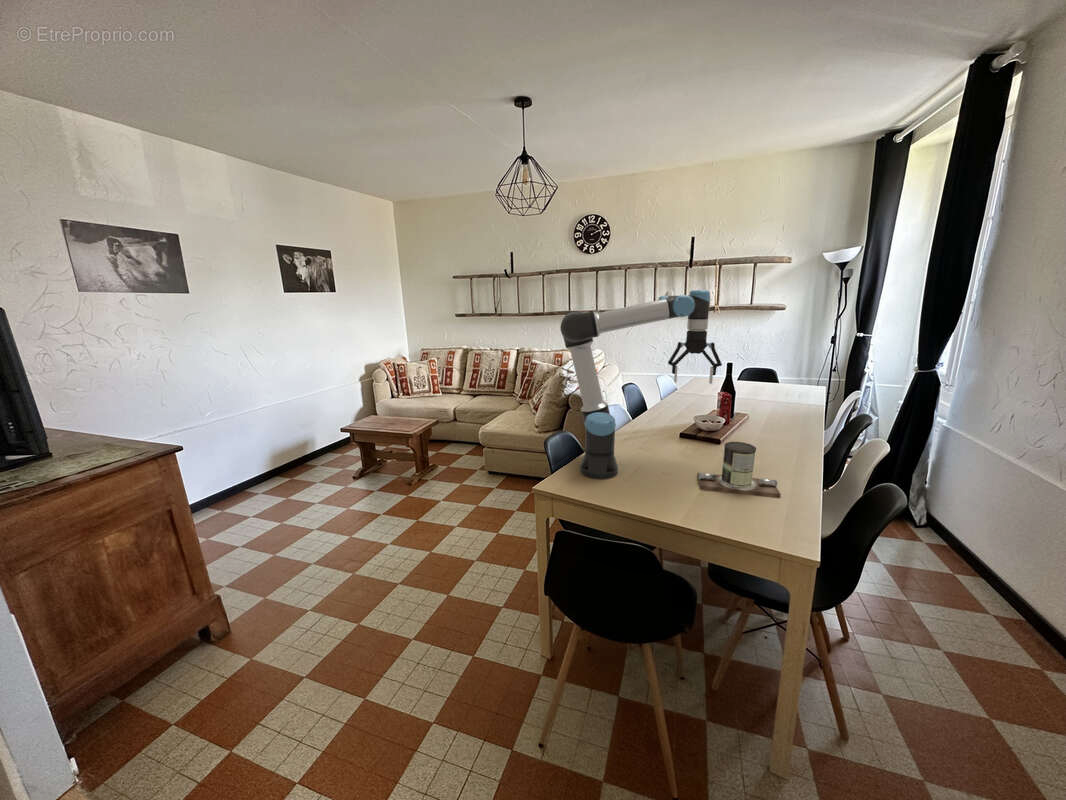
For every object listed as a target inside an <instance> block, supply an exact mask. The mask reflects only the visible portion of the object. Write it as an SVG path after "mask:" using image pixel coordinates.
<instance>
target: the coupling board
mask: <svg viewBox="0 0 1066 800" xmlns="http://www.w3.org/2000/svg"><path fill="white" fill-rule="evenodd" d="M699 473H700V472H697V473H696V474H697V476H696V478H697V480H698V484H699V489H700V490H701V491H703V490H704V491H711V492H712V491H713V492H720V493H721V492H723V493H730V494H731V493H733V494H739V495H740V494H742V495H749V496H750V495H751V496H758V497H759V496H761V497H770V498H779V499H780V498H781V492H780V490H779V488H777V487H773V486H763V485H759V479H760V478H757V477H756V478H755V477H752V485H751V486H750V487H747V488H738V487H732V486H729V485H727V484H725V483H723V482H722V481H721V478H722V474H716V473H715V475H716V479H715V481H712V480H702V479H699Z"/></svg>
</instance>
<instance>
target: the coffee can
mask: <svg viewBox="0 0 1066 800" xmlns="http://www.w3.org/2000/svg"><path fill="white" fill-rule="evenodd" d="M723 450H724V452H723V459H722V460H723V461H722V469H721V472H722V473H721V475H722V478H721V481H722V482H723V483H725V484H727V485H729V486H732V487H738V488H747V487H750V486H751V485H752V478H753V474H754V473H753V472H754V466H755V459H756V458H755V457H756V451H757V447H756V446H755V445H753V444H750V443H747V442H743V441H729V442H725V443H724V449H723Z"/></svg>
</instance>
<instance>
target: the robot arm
mask: <svg viewBox="0 0 1066 800" xmlns="http://www.w3.org/2000/svg"><path fill="white" fill-rule="evenodd" d="M710 303H711V292H710V291H709V290H708V289H702V290H701V289H699V290H697V289H696V290H690V292H689V294H688V295H687V294H680V295H661V296H659V297H658V299H657V300H653V301H648V302H644V303H643V302H642V303H639V304H634V305H630V306H625V307H621V308H616V309H611V310H610V309H609V310H606V311H602V312H597V311H593V310H592V311H589V312H581V311H571V312H568V313H567V314H565V315H564V316H563V317H562V319H561V322H560V328H559V330H560V333H561V335H562V337H563V341H564V346H565V349H567V350H569V352H570V355H571V359H572V364H573V368H574V373H575V376H576V380H577V384H578V389H579V392H580V393H579V394H580V396H581V401H582V406H581V408H580V412H581V416H582V420H583V423H584V433H585V435H584V436H585V437H584V439H585V440H584V455H583V458H582V460H581V463H580V473H581V474H582V475H583V476H585V477H587V478H592V479H598V480H604V479H605V480H606V479H611V478H614V477H616V476H618V473H619V467H618V463H617V460H616V456H615V444H616V443H615V440H616V439H615V435H616V426H617V425H616V419H615V417H614V416H613V415H612V414H611V413H610V407H609V405H608V402H606V401H605V400H604V399H603V393H602V389H601V386H600V382H599V376H598V373H597V369H596V363H595V360H594V355H593V351H592V344H593V342H594V338H599V336H600V335H601V334H603V333H604V334H605V333H608V332H614V331H617V330H623V329H626V328H631V327H632V328H633V327H636V326H641V325H645V324H650V323H651V324H652V323H656V322H661V321H665V320H670V319H675V318H683V317H687V325H686V328H687V331H686V339H685V340H686V341H685V342H681V341H678V342H677V345H676V348H675V350H674V351H673V353H672V355H671V356H670V358H669V360H668V362H667V364H668V365H670V366H672V367H671V373H672V375H674V380H673V381H674V383H677V378H678V364H679V363H680V362H681V361H682V360H683V359H685V357H686V356H687V355H688V354H691V355H693V354H697V355H699V354H702V355H704V357H705V358H706V360H707V361H708V362H709V363H710V364H711V366H710V369H709V370H710V371H709V380H708V383H709V384H710V385H712V384H713V377H714V376H716V373H717V368H718V367H722V365H723V363H722V361H721V359H720V357H719V355H718V353H717V351H716V348H715V347H716V345H715V342H713V341H712V342H708V343H707V338H708V332H707V330H708V325H709V312H710ZM683 347H685V348H686V349H685V350H684V351H683V352H682V353H681V354H680V355H679V356H678V357H677V358H676V356H677V355H678V354H679V352H680V350H681V348H683ZM707 347H708V349H710V350H711V352H712V355H713V357H714V359H715V361H716V362H715V361H714V360H713V359H712V358H711V356H710V355H709V354H708V353H707V352H706V350H705V349H707ZM675 358H676V359H675Z"/></svg>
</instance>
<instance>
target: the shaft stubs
mask: <svg viewBox="0 0 1066 800" xmlns="http://www.w3.org/2000/svg"><path fill="white" fill-rule="evenodd" d="M698 473H699V479H702V480H712V481H715V479H716V475H717V474H716V473H715V474H716V475H715V474H714V473H706V472H704V473H703V472H698ZM758 479H759V485H763V486H773V487H776V488H777V487H778V480H777V479H768V478H758Z"/></svg>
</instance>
